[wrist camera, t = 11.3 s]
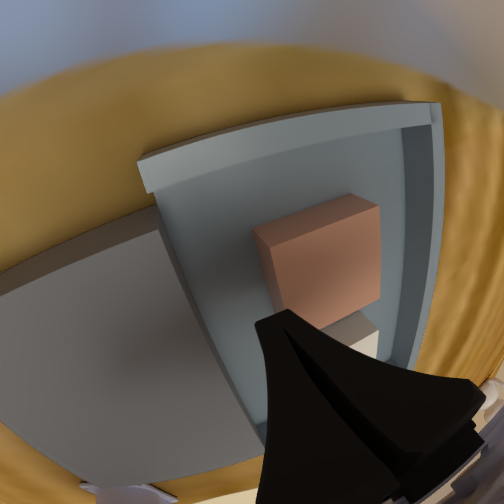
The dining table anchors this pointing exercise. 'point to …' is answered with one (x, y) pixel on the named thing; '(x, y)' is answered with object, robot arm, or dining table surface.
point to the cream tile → (355, 333)
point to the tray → (297, 199)
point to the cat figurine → (491, 398)
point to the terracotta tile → (323, 259)
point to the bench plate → (117, 361)
